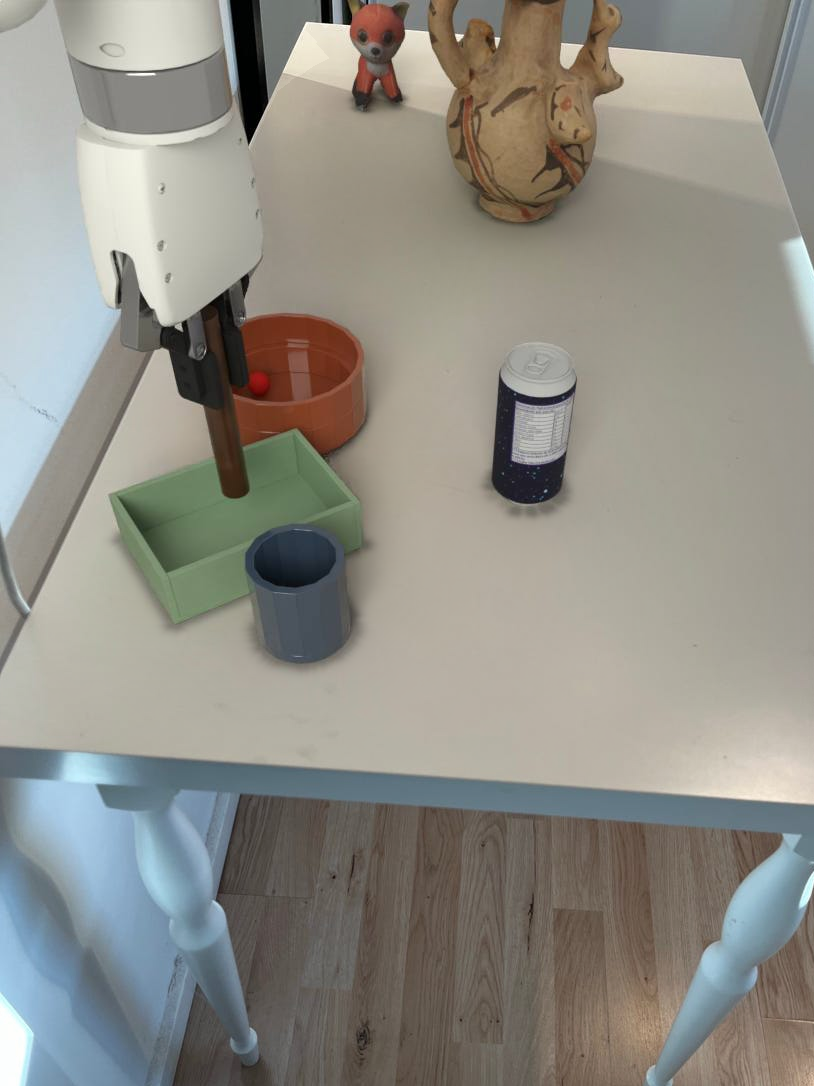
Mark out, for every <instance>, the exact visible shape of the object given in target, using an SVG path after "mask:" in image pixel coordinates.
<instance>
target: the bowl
mask: <svg viewBox="0 0 814 1086" xmlns="http://www.w3.org/2000/svg"><path fill="white" fill-rule="evenodd" d="M239 330H241V331H242V336H243V342H244V348H245V354H246V360H247V366H248V372H249V375H250V374H251V373H253V372H257V371H258V372H263V373H265V374H266V375H267V376H268V377H269V379H270V389H269V391H268V392H267V393H266V394H264V395H260V396H258V395H254V394H252V393H251V392H250V391H249V389H248V388H247V385H246V386H245V387H243V388H242V387H237V386H234V385H231V387H232V392H233V398H234V403H235V408H236V414H237V419H238V425H239V430H240V436H241V441H242V447H244V446H247V445H250V444H253V443H256V442H258V441H261V440H264V439H267V438H270V437H273V436H276V435H278V434H281V433H284V432H287V431H290V430H292V429H295V428H297V429H298V430H299V431H300V433H301V434H302V435H303V436H304V437H305V438H306V440H307V441H308V442H309V443H310V444H311V445H312V447H313V448H314V449H315V450H316V451H317V452H318V454H319V455H320V456H321V457H322V456H324V455H326V454H329V453H331V452H333V451H334V450H336V449H338V448H340V447H341V446H342V445H344V444H346V442H347V441H348V440H350V439H351V438H352V437H354V436H355V435H356V434H357V432H358V431H359V430H360V428H361V426H363V424H364V423H365V420H366V414H367V410H368V397H367V396H368V395H367V379H366V378H367V377H366V360H365V359H366V358H365V352H364V349H363V346H362V344H361V341H360V339H359V338H358V337H356V336H355V334H353V332H351V331H350V330H349V328H348V327H345V326H343V325H341V324H339V323H337V322H335V321H333V320H331V319H329V318H325V317H322V316H317V315H313V314H310V313H297V312H278V313H268V314H259V315H256V316H252V317H249V318H246V321H245V323H244V325H243V326H242V327H240V328H239Z"/></svg>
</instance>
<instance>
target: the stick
mask: <svg viewBox="0 0 814 1086" xmlns="http://www.w3.org/2000/svg"><path fill="white" fill-rule="evenodd" d="M200 313H201V318H202V323H203V329H204V334H205V339H206V344H207V350H209V351H212V352H214V353H215V355H216V358H217V363H218V368H219V373H220V379H221V384H222V389H223V394H224V399H225V401H224V406H222V407H221V408H220V409H219V410H214V409H212V408H209V407H206V406H203V405H202V406H203V411H204V415H205V420H206V426H207V429H208V434H209V439H210V443H211V449H212V453H213V457H214V458H215V463H216V468H217V472H218V477H219V482H220V486H221V491H222V494H223V495H224V496H225V497H227V498H231V499H238V498H242V497H244V496H246V495H247V494H248V493H249V491H250V485H249V479H248V474H247V469H246V463H245V458H244V452H243V447H242V441H241V436H240V430H239V425H238V419H237V414H236V408H235V403H234V398H233V392H232V387H231V381H230V376H229V370H228V365H227V359H226V354H225V348H224V343H223V337H222V332H221V326H220V321H219V316H218V311H217V309H216V308H214V307H213V306H210V305H206V306H204V307H203V308H202V309H200Z"/></svg>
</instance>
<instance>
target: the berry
mask: <svg viewBox="0 0 814 1086" xmlns="http://www.w3.org/2000/svg"><path fill="white" fill-rule="evenodd" d="M249 379H250V382H249V383H248V384H247V388H248V389H249V391H250V392H251V393H252V394H254V395H258V396H260V395H264V394H266V393H267V392H268V391H269V389H270V379H269V377H268V376H267V375H266V374H265V373H263V372H258V371H257V372H253V373H251V374H250V375H249Z"/></svg>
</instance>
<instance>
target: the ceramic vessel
mask: <svg viewBox="0 0 814 1086" xmlns="http://www.w3.org/2000/svg"><path fill="white" fill-rule="evenodd" d="M458 2H459V0H429V4H428V7H427V9H428V10H427V29H428V36H429V41H430V46H431V49H432V51H433V53H434V55H435V57H436V59H437V61H438V63H439V65H440V68H441V69H442V71H443V72H444V74H445V75H446V77H447V78H448V80H449V81H450V82H451V85H453V87H454V88H455V90H454V91H453V94H452V96H451V98H450V102H449V106H448V108H447V112H446V118H445V119H446V120H445V132H446V138H447V143H448V148H449V153H450V157H451V159H452V162H453V166H454V168H455V169H456V170H457V172H458V174H459V175H460V176H461V178H462V179H464V181H466V183H467V184H469V185H471V186H472V187H474V188H475V189H477V190H478V193H479V199H478V202H479V204H480V206H481V208H482V209H483V210H484V211H486V212H487V213H488V214H490V215H492V216H493V217H494V218H497V219H500V220H502V221H505V222H511V223H520V224H521V223H531V222H535V221H537V220H540V219H541V218H544V217H547V216H548V215H549V214H551V213H552V212H553V211H554V210H555V206H556V200H560V199H562V198H564V197H566V196H568V195H569V194H570V193H572V191H574V190H575V189H576V188H577V187H578V186H579V185H580V183H582V181H583V179H584V178H585V176H586V174H587V172H588V170H589V168H590V166H591V163H592V161H593V157H594V152H595V150H596V149H595V148H596V145H597V135H598V125H597V116H596V113H595V109H594V101H595V100H596V98H598V97H600V96H603V95H607V94H609V93H611V92H614V91H616V90H618V89H620V88H621V87H623V85H624V83H625V79H624V77H623V76H622V75H621V74H620V73H618V72H617V71H616V70H615V68H614V67H613V64H612V62H611V59H610V53H609V45H610V43H611V41H612V39H613V36H614V35H615V33H616V32H617V31H618V30H619V29H620V27H621V26H622V22H623V16H622V12H621V9H620V8H619V7H618V6H617V5H615V4H613V3H608V2H607V1H606V0H592V4H593V6H592V11H591V17H590V22H589V26H588V29H587V30H588V31H587V36H586V40H585V42H584V44H583V46H581V48H580V49H579V51H578V53H577V55H576V58H575V60H574V62H573V63H572V64H571V66H570V67H569V68H566V67H564V66H563V65H562V64H561V50H562V40H563V39H562V37H563V21H564V13H565V7H566V3H567V0H504V9H503V12H502V13H503V14H502V20H501V28H500V37H499V41H498V44H497V45H496V37H495V32H494V29H493V26H492V25H491V24H490V23H489V22H488V21H487V20H485V19H482V18H479V17H474V18H472V19H470V20H468V22H467V26H466V30H465V32H464V34H463V36H462V37H461V38H460V40H459V41H458V40H457V37H456V33H455V27H454V13H455V10H456V7H457V5H458Z"/></svg>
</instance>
